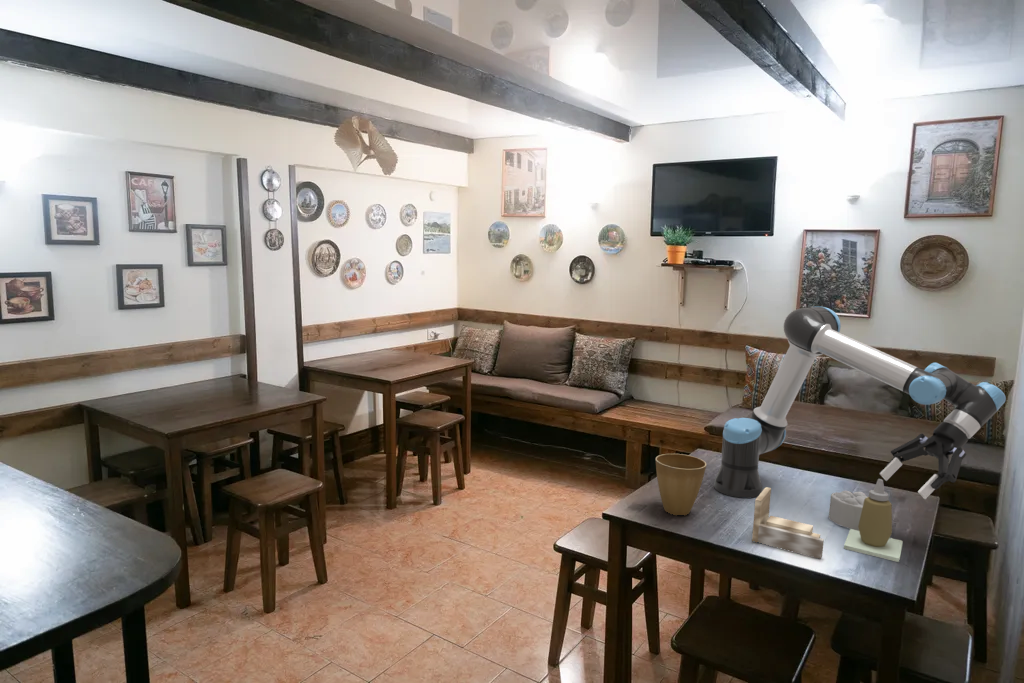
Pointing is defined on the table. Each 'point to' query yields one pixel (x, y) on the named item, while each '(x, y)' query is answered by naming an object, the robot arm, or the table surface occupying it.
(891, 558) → the sage mat
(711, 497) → the table surface
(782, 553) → the table surface
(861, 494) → the lumpy-topped squat cylinder
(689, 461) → the plant pot
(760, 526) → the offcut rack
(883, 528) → the squeeze bottle
